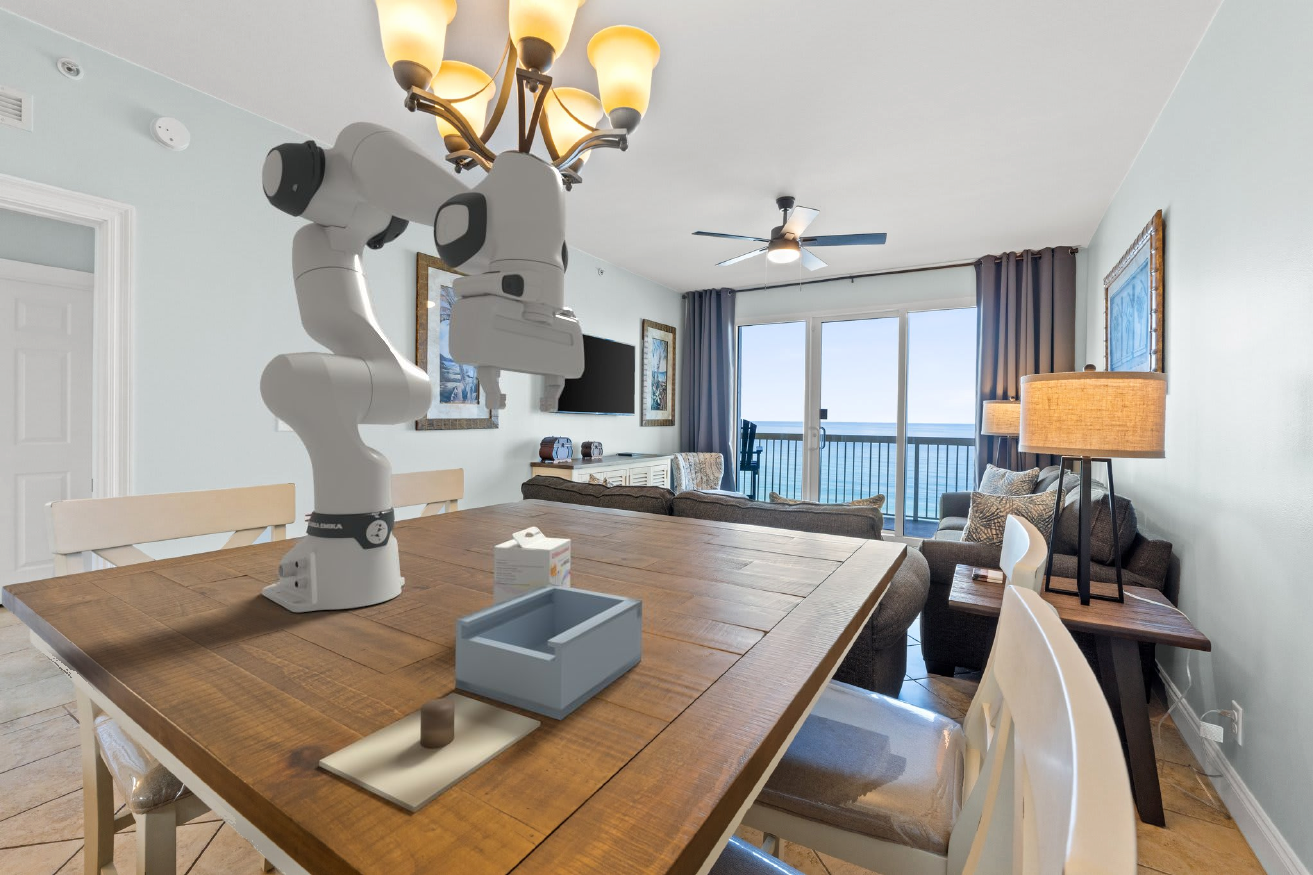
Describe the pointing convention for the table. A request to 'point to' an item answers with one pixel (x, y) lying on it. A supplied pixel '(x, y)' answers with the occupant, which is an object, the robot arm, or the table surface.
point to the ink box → (530, 564)
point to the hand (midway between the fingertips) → (523, 410)
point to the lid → (429, 749)
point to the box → (548, 648)
